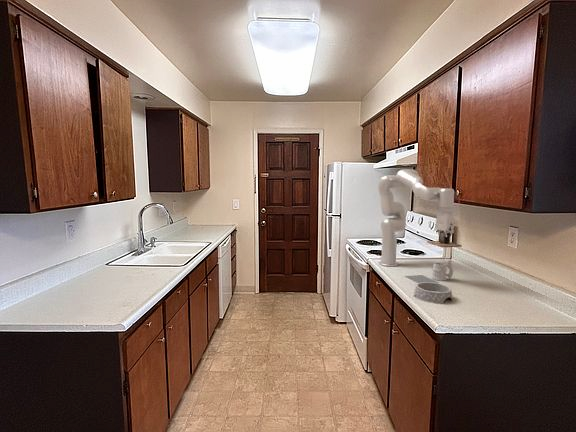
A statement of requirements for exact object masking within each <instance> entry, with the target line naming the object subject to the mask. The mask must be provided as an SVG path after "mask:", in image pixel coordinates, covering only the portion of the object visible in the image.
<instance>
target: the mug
mask: <svg viewBox="0 0 576 432" xmlns="http://www.w3.org/2000/svg"><path fill="white" fill-rule="evenodd" d="M447 267H448V269H449V270H448V271H449V272H448V273H447ZM453 272H454V268H453V265H452V260H451V259H449V260H448V262H447V263H444V262H433V267H432V275H431V279H432V280H434V281H436V282H443V281H446V280H447V278H448V279H451V278H452V277H453Z"/></svg>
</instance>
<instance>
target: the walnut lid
mask: <svg viewBox="0 0 576 432" xmlns="http://www.w3.org/2000/svg"><path fill="white" fill-rule="evenodd" d="M447 234H448V232H447ZM444 237H445V231H444V232H441V236H440V242H439V240H432V241H431V240H429V241H426V244H429V245H434V246H437V247H440V248H444V249H445V248H458V247H459V248H461V247H463V245H462V244H460V243H459V244H458V243H455V242H452V241H450V243H449V244H444Z"/></svg>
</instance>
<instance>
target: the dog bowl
mask: <svg viewBox="0 0 576 432" xmlns="http://www.w3.org/2000/svg"><path fill="white" fill-rule="evenodd" d="M413 293H414V294H413V297H414V298H416V299H417V300H420V301H423V302H425V303H426V302H427V303H431V302H433V304H444V302H445V301H446V300H447V299H448V298H450V299H451V301H454V297H453V291H452V288H451V287H449V286H448V285H446V284H443V283H440V282H439V283H433V282H421V283H416V286H415V289H414V292H413Z"/></svg>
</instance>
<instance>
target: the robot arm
mask: <svg viewBox="0 0 576 432" xmlns="http://www.w3.org/2000/svg"><path fill="white" fill-rule="evenodd" d="M423 183H424V181H423V178H422V177H421V176H419V172H418V171H417V170H415V169H409V168H407V169H405V168H403V169H400V170H398V172H397V173H396V175H392V174H390V175H383V176H381V178H380V179H379V181H378V183H377V187H378V188H377V189H378V193H379V197H380V208H381V214H382V215H383V216H385V217H386V218H384V219H383V220H382V221H381V224H380V229H381V256H380V261H378V265H380V266H384V267H397V266H399V262H398V261H397V241H398V239H397V235H396V233H395V232H402V231H404V230H405V229H406V227H407V219H406V210H405V206H404V205H403V203H402V202H400V201H395V200H394V194H393V191H392V190H391V189H402V188H405V187H408V188H409V189H411V190H412V192H413V194H414V195H415V197H417V198H419V199H421V200H423V201H426V202H436V201H437V202H438V211H437V215H436V217H435V218H436V219H435V229H436V230H435V231H437V235H438V241H439V242H440V236H441V232H445V237H444V244H449V243H450V242H451V241H450V240H451V236H452V235H453V234H454V233H455V230H454V229H455V225H454V224H455V221H454V220H455V218H454V216H455V215H454V205H455V204H454V202H455V190H454V189H453V188H450V187H449V188H445V187H444V188H442V187H428V186H425V185H424V184H423ZM388 217H389V218H388ZM447 233H448V234H447Z"/></svg>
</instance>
